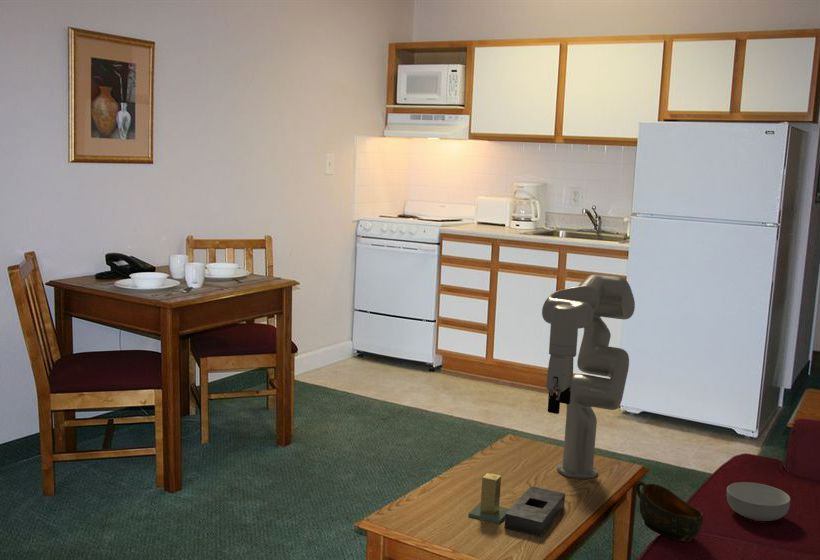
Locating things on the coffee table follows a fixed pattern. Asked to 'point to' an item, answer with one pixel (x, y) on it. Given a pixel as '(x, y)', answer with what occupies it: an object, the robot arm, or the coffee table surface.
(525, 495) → the dark square-hole plate
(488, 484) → the brass plug
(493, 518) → the green mat
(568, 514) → the coffee table surface
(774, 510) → the cereal bowl
